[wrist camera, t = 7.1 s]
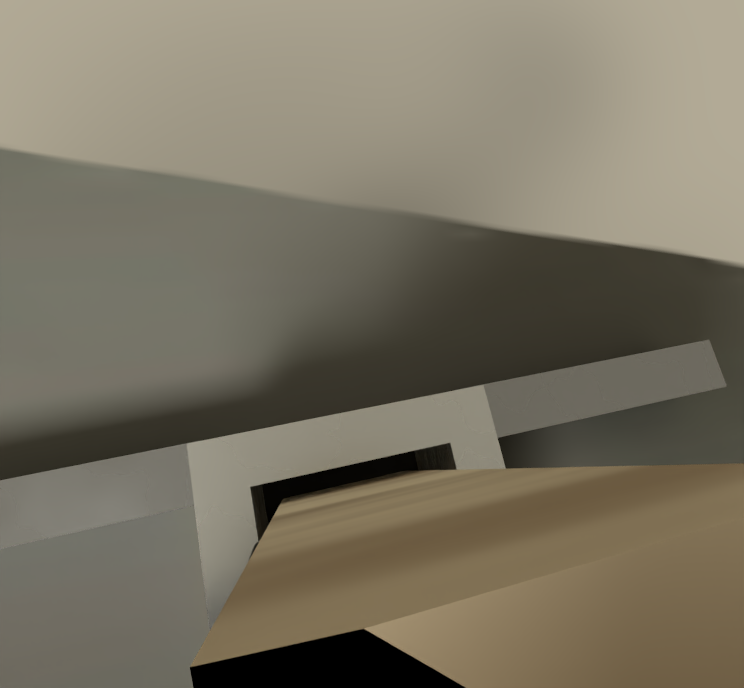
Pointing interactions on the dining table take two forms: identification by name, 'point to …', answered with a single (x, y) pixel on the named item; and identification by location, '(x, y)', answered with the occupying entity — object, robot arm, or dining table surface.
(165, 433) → the dining table surface
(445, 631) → the beech pin
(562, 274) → the dining table surface
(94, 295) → the dining table surface
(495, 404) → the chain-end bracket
